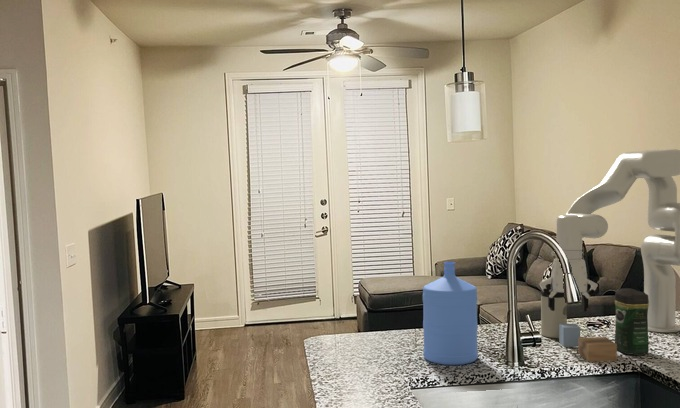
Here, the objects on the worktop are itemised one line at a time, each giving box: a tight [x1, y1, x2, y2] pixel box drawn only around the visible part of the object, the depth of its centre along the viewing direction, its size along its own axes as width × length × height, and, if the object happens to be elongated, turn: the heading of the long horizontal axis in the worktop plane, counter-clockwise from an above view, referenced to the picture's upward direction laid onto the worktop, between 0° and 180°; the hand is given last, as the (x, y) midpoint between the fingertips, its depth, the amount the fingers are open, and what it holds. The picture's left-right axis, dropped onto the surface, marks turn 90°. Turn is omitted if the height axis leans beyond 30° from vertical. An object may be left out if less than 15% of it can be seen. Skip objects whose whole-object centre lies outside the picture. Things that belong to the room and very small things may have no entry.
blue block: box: [558, 323, 581, 348], centre depth 204 cm, size 5×5×6 cm
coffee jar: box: [614, 287, 650, 356], centre depth 195 cm, size 10×8×19 cm
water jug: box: [422, 261, 479, 366], centre depth 191 cm, size 16×16×28 cm
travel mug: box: [540, 278, 568, 339], centre depth 215 cm, size 8×8×18 cm
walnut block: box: [577, 336, 618, 363], centre depth 190 cm, size 8×8×5 cm
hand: (568, 310), depth 203 cm, fingers open, 9 cm apart
